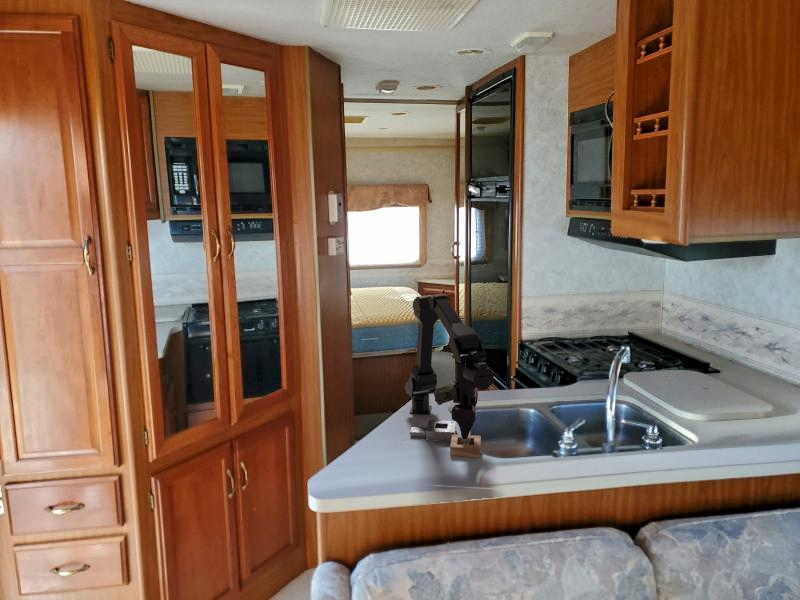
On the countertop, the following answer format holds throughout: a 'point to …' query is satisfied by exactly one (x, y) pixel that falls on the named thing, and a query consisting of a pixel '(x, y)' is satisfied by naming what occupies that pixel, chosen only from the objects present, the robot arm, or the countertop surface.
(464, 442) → the hitch pin
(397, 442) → the countertop surface
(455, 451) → the frame
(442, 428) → the block
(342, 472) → the countertop surface
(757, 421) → the countertop surface
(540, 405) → the countertop surface
